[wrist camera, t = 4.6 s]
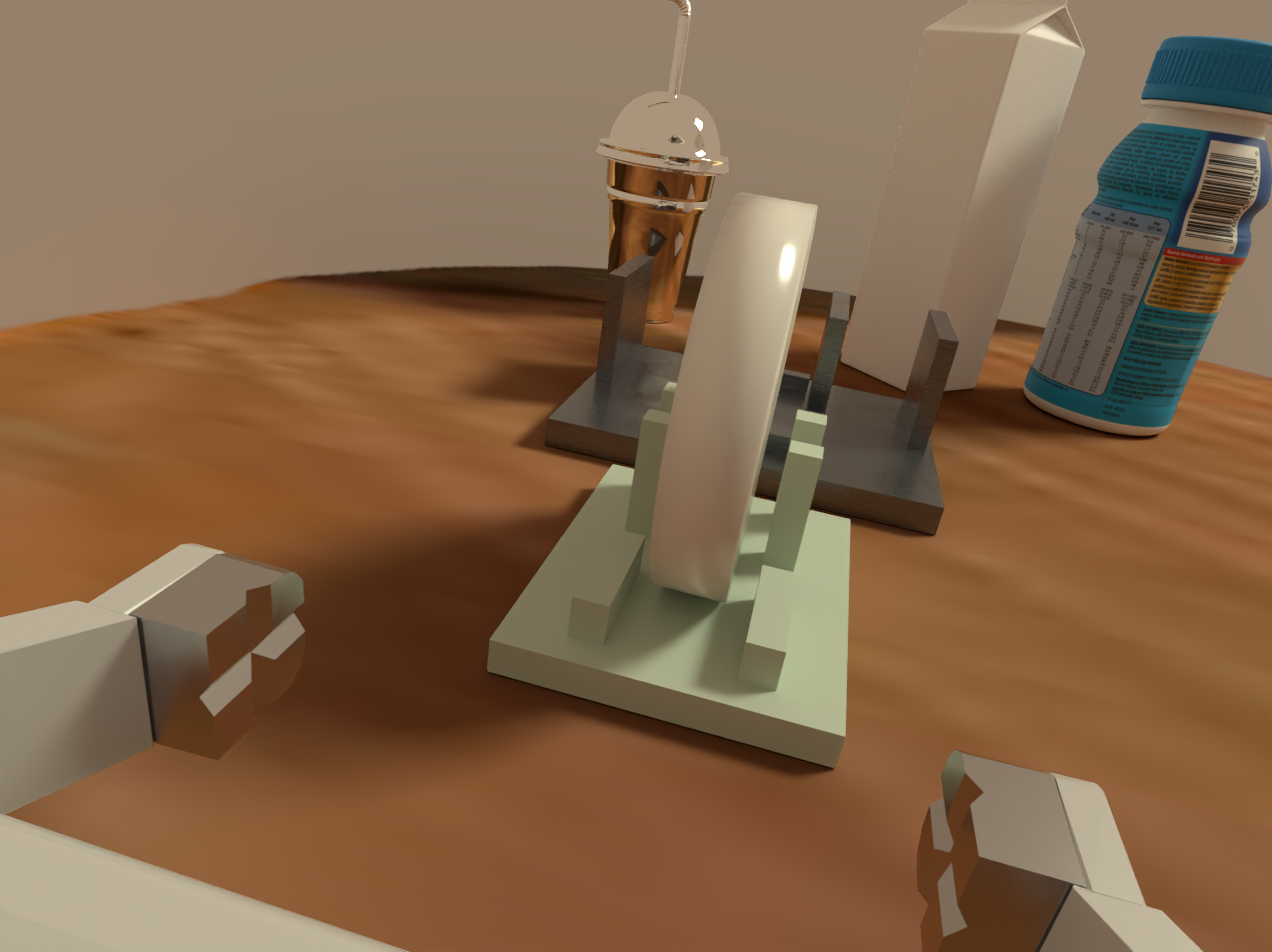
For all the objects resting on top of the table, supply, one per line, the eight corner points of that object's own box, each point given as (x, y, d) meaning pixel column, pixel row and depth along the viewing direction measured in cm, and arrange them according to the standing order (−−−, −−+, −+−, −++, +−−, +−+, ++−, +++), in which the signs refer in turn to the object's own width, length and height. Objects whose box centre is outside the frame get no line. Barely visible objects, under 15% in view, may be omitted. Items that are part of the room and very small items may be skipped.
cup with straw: (673, 340, 52) (734, -30, 44) (547, 307, 55) (582, -46, 47) (719, 317, 60) (780, -6, 51) (606, 288, 63) (645, -21, 54)
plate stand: (843, 542, 31) (879, 417, 29) (835, 768, 20) (890, 594, 18) (609, 487, 33) (627, 363, 30) (487, 671, 22) (500, 499, 20)
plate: (753, 502, 31) (824, 188, 26) (704, 684, 21) (803, 233, 16) (700, 490, 31) (760, 177, 27) (627, 664, 21) (702, 216, 17)
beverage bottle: (999, 403, 50) (1130, 25, 42) (1038, 379, 57) (1157, 47, 48) (1155, 453, 46) (1335, 42, 37) (1177, 421, 52) (1336, 63, 44)
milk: (901, 358, 57) (1009, -17, 48) (976, 390, 52) (1111, -17, 43) (837, 362, 53) (939, -40, 44) (911, 396, 49) (1042, -43, 40)
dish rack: (915, 424, 44) (950, 309, 42) (935, 535, 33) (985, 384, 30) (623, 362, 47) (638, 250, 44) (545, 444, 35) (560, 298, 33)
